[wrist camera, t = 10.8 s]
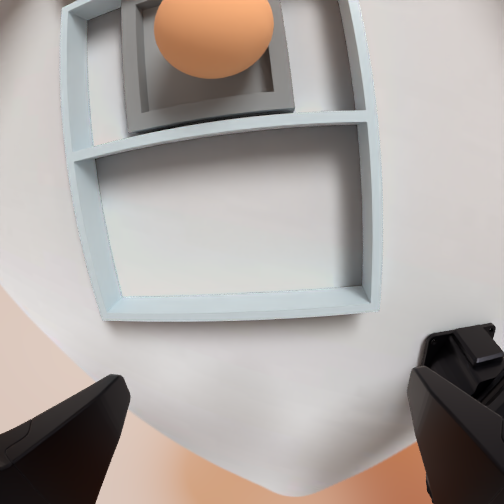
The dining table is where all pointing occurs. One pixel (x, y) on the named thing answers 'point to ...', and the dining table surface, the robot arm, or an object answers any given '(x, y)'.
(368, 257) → the two compartment tray
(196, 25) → the ball
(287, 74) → the square tray
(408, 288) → the dining table surface
